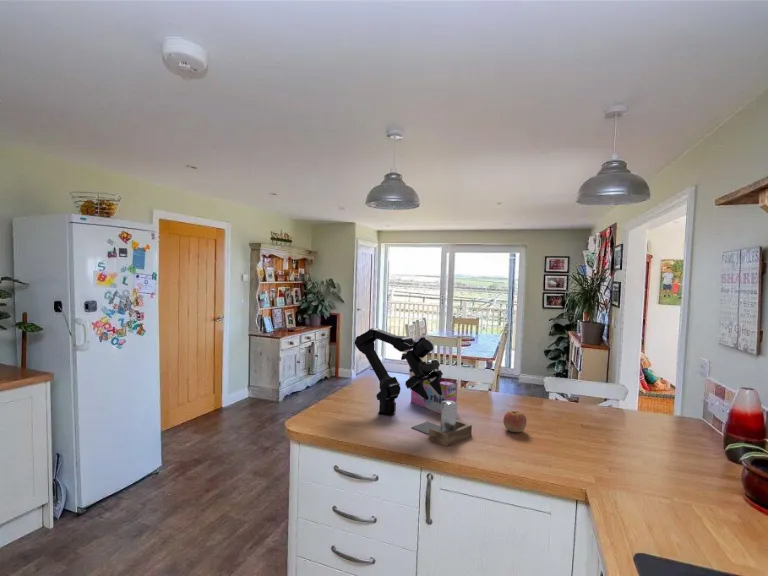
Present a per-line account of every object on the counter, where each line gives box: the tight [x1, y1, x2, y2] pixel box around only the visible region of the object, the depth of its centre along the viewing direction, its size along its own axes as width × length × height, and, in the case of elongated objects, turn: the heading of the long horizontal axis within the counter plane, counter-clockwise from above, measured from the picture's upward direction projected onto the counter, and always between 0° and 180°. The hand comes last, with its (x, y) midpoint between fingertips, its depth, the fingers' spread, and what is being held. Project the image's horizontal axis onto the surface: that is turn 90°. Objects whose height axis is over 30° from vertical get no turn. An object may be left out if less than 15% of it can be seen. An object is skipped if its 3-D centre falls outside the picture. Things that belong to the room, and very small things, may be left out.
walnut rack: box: [428, 419, 473, 447], centre depth 154 cm, size 8×16×4 cm, turn 135°
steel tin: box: [440, 400, 458, 433], centre depth 154 cm, size 6×6×13 cm
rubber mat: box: [410, 421, 441, 436], centre depth 161 cm, size 10×10×1 cm
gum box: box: [410, 373, 458, 414], centre depth 189 cm, size 24×8×14 cm, turn 40°
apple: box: [502, 410, 527, 433], centre depth 162 cm, size 9×9×8 cm
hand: (434, 397), depth 161 cm, fingers open, 9 cm apart
